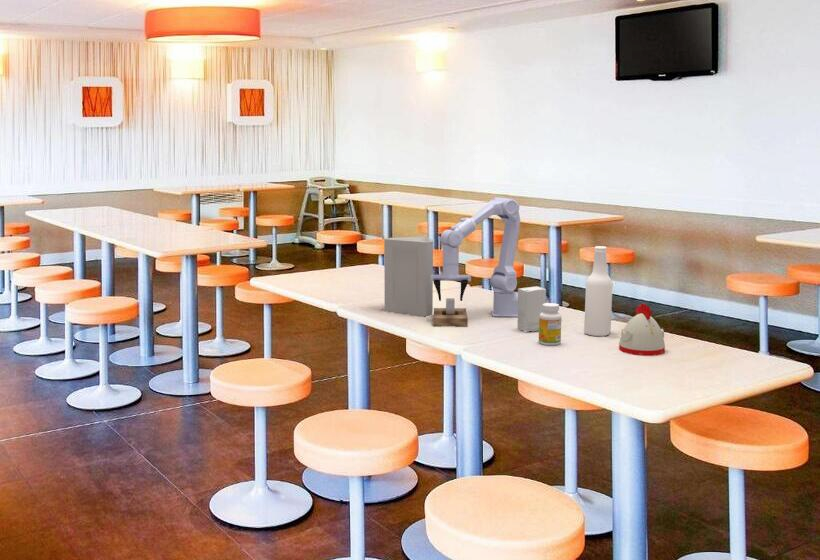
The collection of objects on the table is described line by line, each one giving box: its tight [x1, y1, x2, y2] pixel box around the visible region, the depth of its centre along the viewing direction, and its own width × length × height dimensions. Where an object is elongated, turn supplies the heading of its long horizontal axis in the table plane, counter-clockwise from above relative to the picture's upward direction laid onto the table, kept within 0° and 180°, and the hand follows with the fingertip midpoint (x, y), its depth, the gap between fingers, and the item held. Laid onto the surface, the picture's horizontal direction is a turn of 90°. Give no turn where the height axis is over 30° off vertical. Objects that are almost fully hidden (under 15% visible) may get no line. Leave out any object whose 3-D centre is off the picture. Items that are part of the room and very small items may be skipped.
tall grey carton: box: [383, 236, 434, 317], centre depth 330 cm, size 19×15×28 cm
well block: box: [433, 307, 469, 328], centre depth 314 cm, size 12×18×3 cm, turn 178°
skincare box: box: [517, 285, 547, 333], centre depth 299 cm, size 8×6×15 cm
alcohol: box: [583, 245, 613, 337], centre depth 293 cm, size 9×9×30 cm
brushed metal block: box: [445, 297, 456, 315], centre depth 314 cm, size 3×5×8 cm, turn 178°
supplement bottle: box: [538, 302, 562, 346], centre depth 281 cm, size 7×7×13 cm
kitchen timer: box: [618, 302, 666, 357], centre depth 272 cm, size 14×14×15 cm
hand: (450, 300), depth 313 cm, fingers open, 7 cm apart
